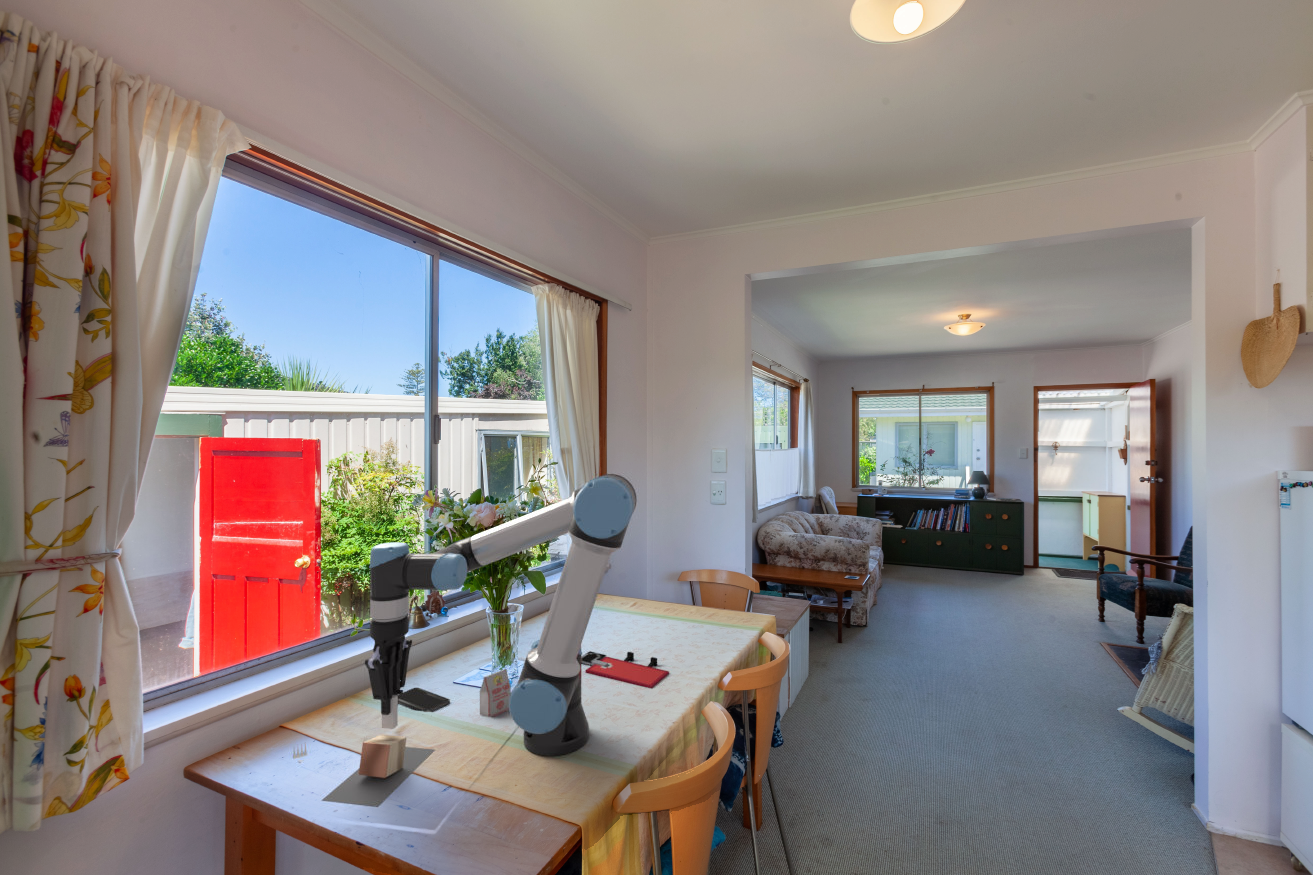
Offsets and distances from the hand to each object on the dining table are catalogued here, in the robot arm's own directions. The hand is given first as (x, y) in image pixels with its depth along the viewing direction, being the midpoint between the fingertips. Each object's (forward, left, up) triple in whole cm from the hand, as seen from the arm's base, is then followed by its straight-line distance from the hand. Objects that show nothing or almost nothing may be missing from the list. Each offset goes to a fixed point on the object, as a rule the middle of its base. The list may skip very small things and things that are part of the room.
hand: (389, 726), depth 122 cm
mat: (0, +3, -9) cm, 9 cm away
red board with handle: (-37, -59, -10) cm, 70 cm away
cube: (0, -1, -6) cm, 6 cm away
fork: (+19, +3, -10) cm, 21 cm away
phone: (+11, -29, -10) cm, 33 cm away
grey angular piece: (-11, -27, -9) cm, 31 cm away
